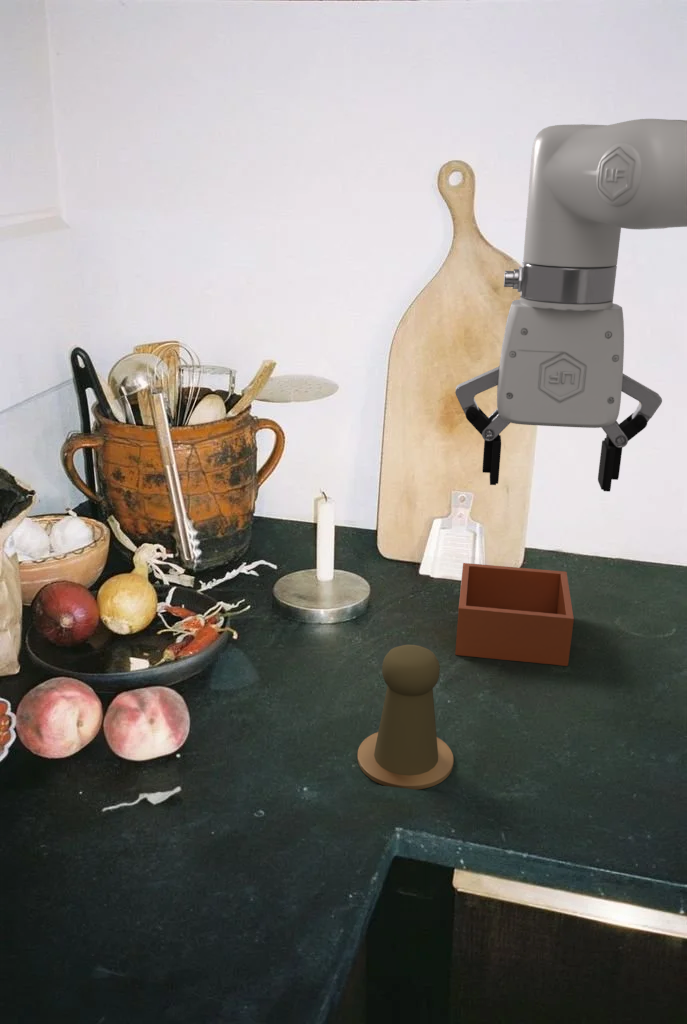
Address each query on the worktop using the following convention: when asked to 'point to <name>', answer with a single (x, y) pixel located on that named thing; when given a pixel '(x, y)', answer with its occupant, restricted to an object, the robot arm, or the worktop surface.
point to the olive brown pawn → (408, 712)
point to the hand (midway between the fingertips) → (548, 483)
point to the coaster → (404, 781)
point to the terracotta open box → (514, 614)
